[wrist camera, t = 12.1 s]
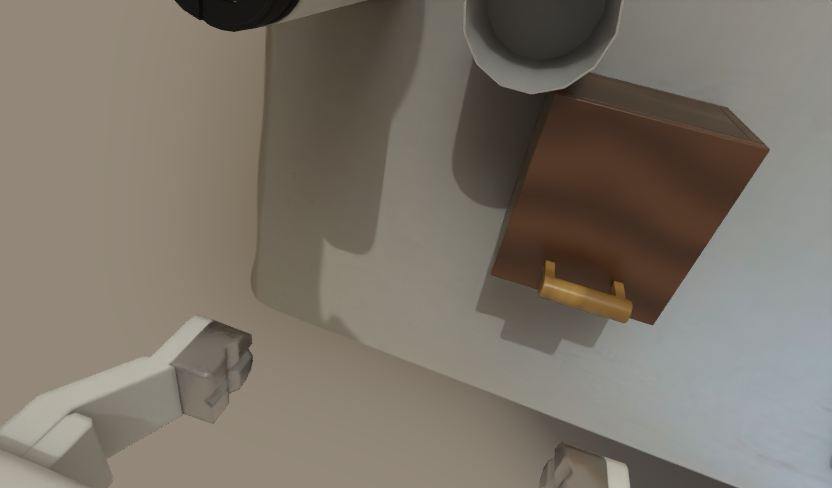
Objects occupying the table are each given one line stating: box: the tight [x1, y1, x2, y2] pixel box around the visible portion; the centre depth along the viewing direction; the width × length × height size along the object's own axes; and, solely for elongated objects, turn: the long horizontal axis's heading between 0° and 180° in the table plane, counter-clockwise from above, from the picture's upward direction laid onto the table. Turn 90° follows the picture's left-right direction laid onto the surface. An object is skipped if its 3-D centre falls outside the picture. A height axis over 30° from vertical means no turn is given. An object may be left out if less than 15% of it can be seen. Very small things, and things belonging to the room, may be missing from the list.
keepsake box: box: [495, 72, 765, 259], centre depth 35 cm, size 14×13×8 cm
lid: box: [491, 90, 770, 325], centre depth 30 cm, size 14×13×4 cm
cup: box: [463, 0, 624, 94], centre depth 29 cm, size 8×8×10 cm
